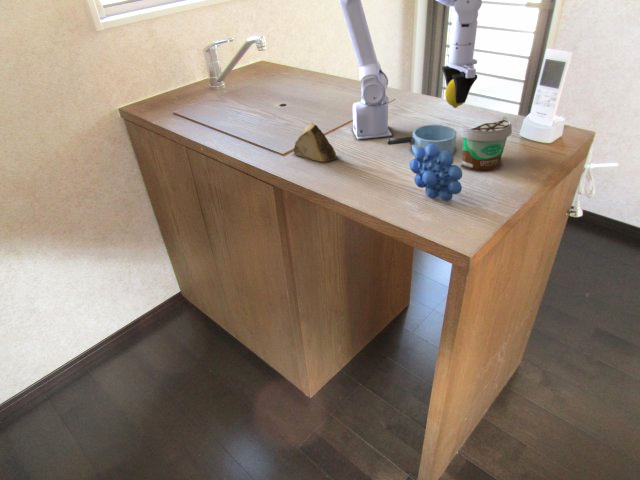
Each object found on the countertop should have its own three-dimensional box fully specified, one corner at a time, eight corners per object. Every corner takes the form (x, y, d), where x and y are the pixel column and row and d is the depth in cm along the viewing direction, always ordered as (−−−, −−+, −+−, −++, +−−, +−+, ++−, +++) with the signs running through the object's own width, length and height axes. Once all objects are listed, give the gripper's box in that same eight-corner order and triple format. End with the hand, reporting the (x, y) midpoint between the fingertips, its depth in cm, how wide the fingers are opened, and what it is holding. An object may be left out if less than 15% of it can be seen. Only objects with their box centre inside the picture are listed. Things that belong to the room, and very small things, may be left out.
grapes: (398, 199, 95) (400, 147, 88) (413, 186, 99) (417, 135, 92) (449, 215, 89) (456, 160, 81) (464, 200, 93) (471, 146, 86)
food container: (473, 178, 100) (480, 136, 94) (456, 168, 104) (461, 127, 98) (517, 165, 103) (526, 124, 97) (498, 155, 108) (505, 115, 102)
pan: (418, 160, 109) (420, 143, 106) (407, 143, 117) (408, 127, 114) (460, 156, 109) (462, 138, 106) (446, 139, 118) (447, 122, 115)
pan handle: (413, 141, 112) (414, 134, 111) (415, 144, 111) (416, 137, 110) (386, 144, 112) (386, 137, 111) (387, 147, 110) (387, 140, 109)
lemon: (466, 111, 113) (470, 79, 109) (444, 111, 114) (447, 80, 110) (465, 104, 118) (469, 73, 113) (443, 104, 119) (446, 73, 114)
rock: (281, 148, 114) (298, 156, 106) (294, 116, 113) (313, 122, 105) (314, 163, 121) (332, 172, 113) (327, 133, 119) (347, 140, 111)
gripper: (491, 47, 101) (482, 106, 109) (467, 34, 113) (460, 88, 121) (461, 50, 100) (454, 109, 108) (439, 37, 112) (435, 91, 120)
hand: (456, 98), depth 114 cm, fingers closed on lemon, 5 cm apart
